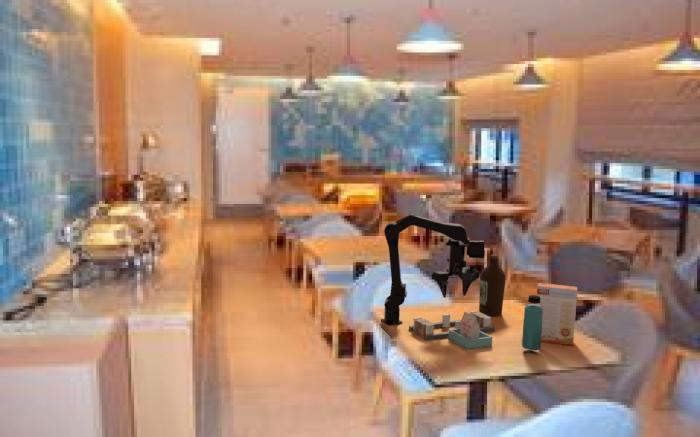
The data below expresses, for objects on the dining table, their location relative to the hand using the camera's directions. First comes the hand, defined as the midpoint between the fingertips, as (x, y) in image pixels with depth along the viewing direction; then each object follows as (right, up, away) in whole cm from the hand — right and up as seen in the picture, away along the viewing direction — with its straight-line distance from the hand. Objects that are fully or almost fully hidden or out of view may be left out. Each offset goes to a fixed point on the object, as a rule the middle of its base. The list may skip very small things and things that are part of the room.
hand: (454, 296), depth 245 cm
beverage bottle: (+23, -17, -23) cm, 37 cm away
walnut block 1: (-13, -13, -9) cm, 20 cm away
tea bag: (+3, -14, -16) cm, 22 cm away
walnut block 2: (+10, -12, +3) cm, 16 cm away
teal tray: (+3, -15, -16) cm, 22 cm away
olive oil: (+19, -10, +22) cm, 30 cm away
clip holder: (-1, -13, -3) cm, 13 cm away
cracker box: (+35, -15, -11) cm, 39 cm away
